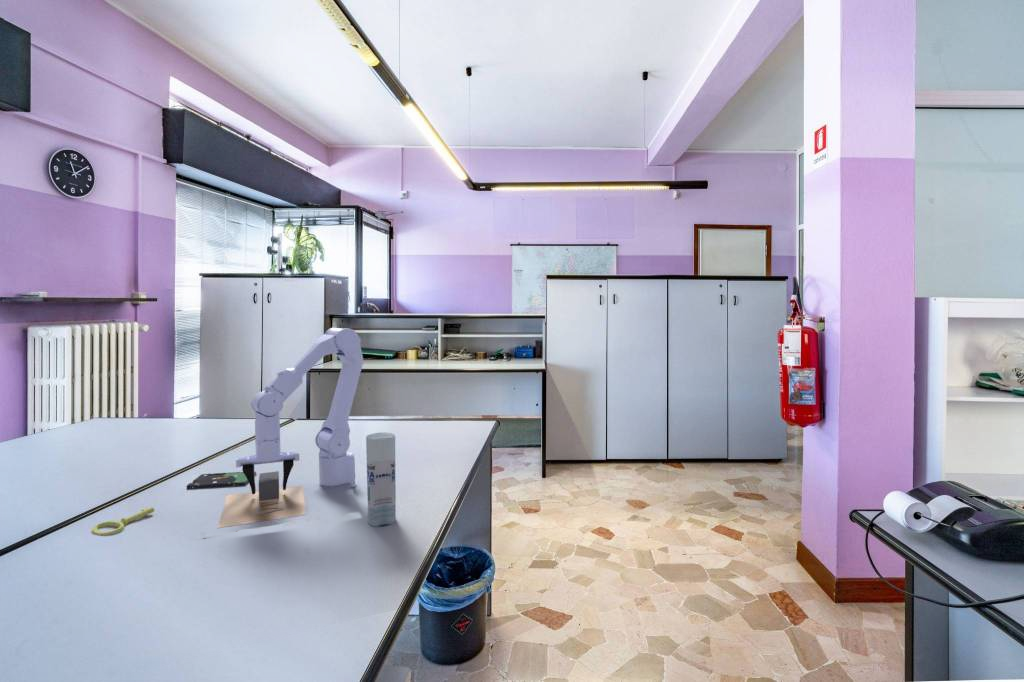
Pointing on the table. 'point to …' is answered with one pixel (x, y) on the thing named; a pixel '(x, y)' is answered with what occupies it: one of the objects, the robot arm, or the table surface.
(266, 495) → the block
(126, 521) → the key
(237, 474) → the disk drive
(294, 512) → the oak board
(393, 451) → the spray paint can
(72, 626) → the table surface
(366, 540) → the table surface
